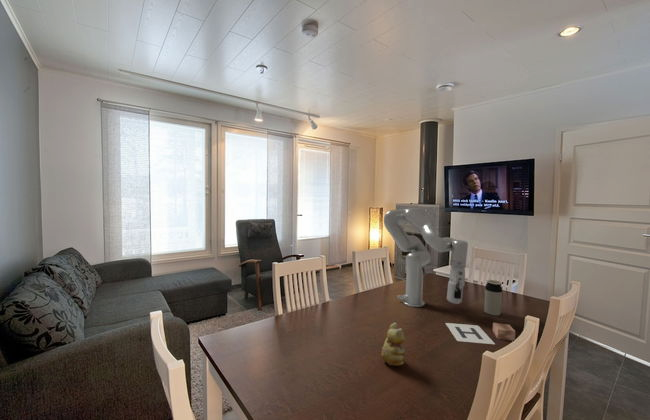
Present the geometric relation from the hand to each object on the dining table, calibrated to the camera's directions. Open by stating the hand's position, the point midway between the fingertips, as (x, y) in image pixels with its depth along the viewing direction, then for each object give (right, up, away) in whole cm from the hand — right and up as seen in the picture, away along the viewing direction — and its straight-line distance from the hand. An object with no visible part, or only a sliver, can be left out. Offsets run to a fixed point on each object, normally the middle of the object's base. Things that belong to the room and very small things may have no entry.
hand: (454, 295), depth 151 cm
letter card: (-2, -13, -18) cm, 22 cm away
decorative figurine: (-44, -13, -43) cm, 63 cm away
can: (0, -4, 0) cm, 4 cm away
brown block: (+13, -14, -20) cm, 28 cm away
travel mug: (+24, -12, +7) cm, 28 cm away
